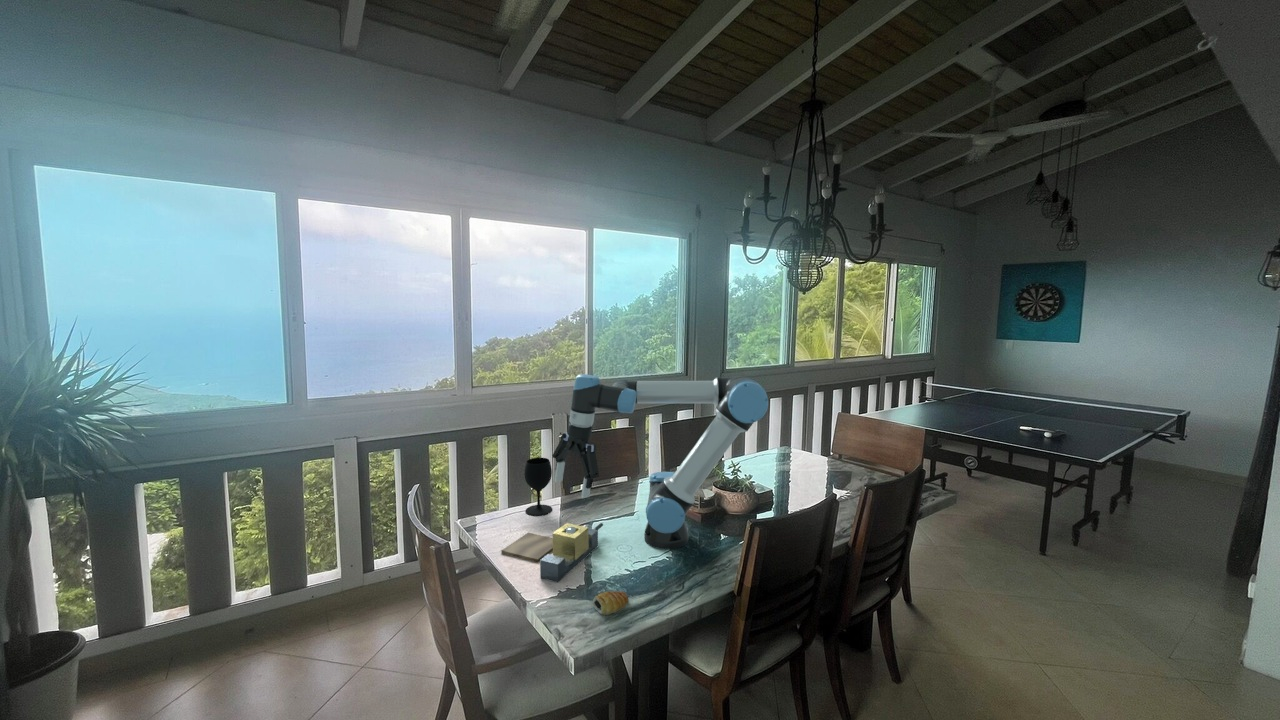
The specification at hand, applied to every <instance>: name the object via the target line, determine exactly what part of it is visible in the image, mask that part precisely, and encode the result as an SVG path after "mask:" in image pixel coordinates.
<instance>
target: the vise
mask: <svg viewBox="0 0 1280 720" xmlns="http://www.w3.org/2000/svg"><path fill="white" fill-rule="evenodd" d="M603 526H604V523H603V522H600V523H599V524H598V525H597V526H595V527H594V528H590V527H588V546H589V549H588V550H587V551H585V552H584V553H583V554H582V555H581V556H580V557H579V558H577V559H576V560H571V559H567V558H563V557H559V556H555V555H553V554H551V553H549V554H547V555H546V556H545V557H543V558H542V559H541V560H540V561H539V563H540V564H539V569H540V571H539V572H540V575H539V576H540V578H539V579H544V580H547V581H550V582H554V583H559V582H560V581H561V580H562V579H564V578H565V577H566V576H567V575H568V574H569V573H571V572H572V571H573V570H574V569H575V568H576V566H578V565H579V564H580V563H581V562H582V561H584V560H585V558H587V557H588V556H589V555H590V554H591V553H592V552H593V551H594V550H595V549H597V546H598V547H599V530H600V529H601V528H602V527H603ZM575 532H576V528H575V527H567V528H566V533H569V534H574V533H575ZM589 553H590V554H589ZM588 554H589V555H588ZM587 555H588V556H587ZM586 556H587V557H586Z"/></svg>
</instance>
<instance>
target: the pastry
mask: <svg viewBox="0 0 1280 720" xmlns="http://www.w3.org/2000/svg"><path fill="white" fill-rule="evenodd" d="M628 603H629V597H628V595H627V593H626V592H624V591H617V590H615V591H612V590H610V591H604V592H598V594H597V595H595V596H594V598H593V600H592V605H593V608H594V609H595V610H596V611H597V612H598V613H599V614H601V615H604V616H605V615H606V616H607V615H612V614H613V613H614V614H615V613H617V612H618V611H621V610H622V609H624V608H625V607H626V606H627V604H628Z"/></svg>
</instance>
